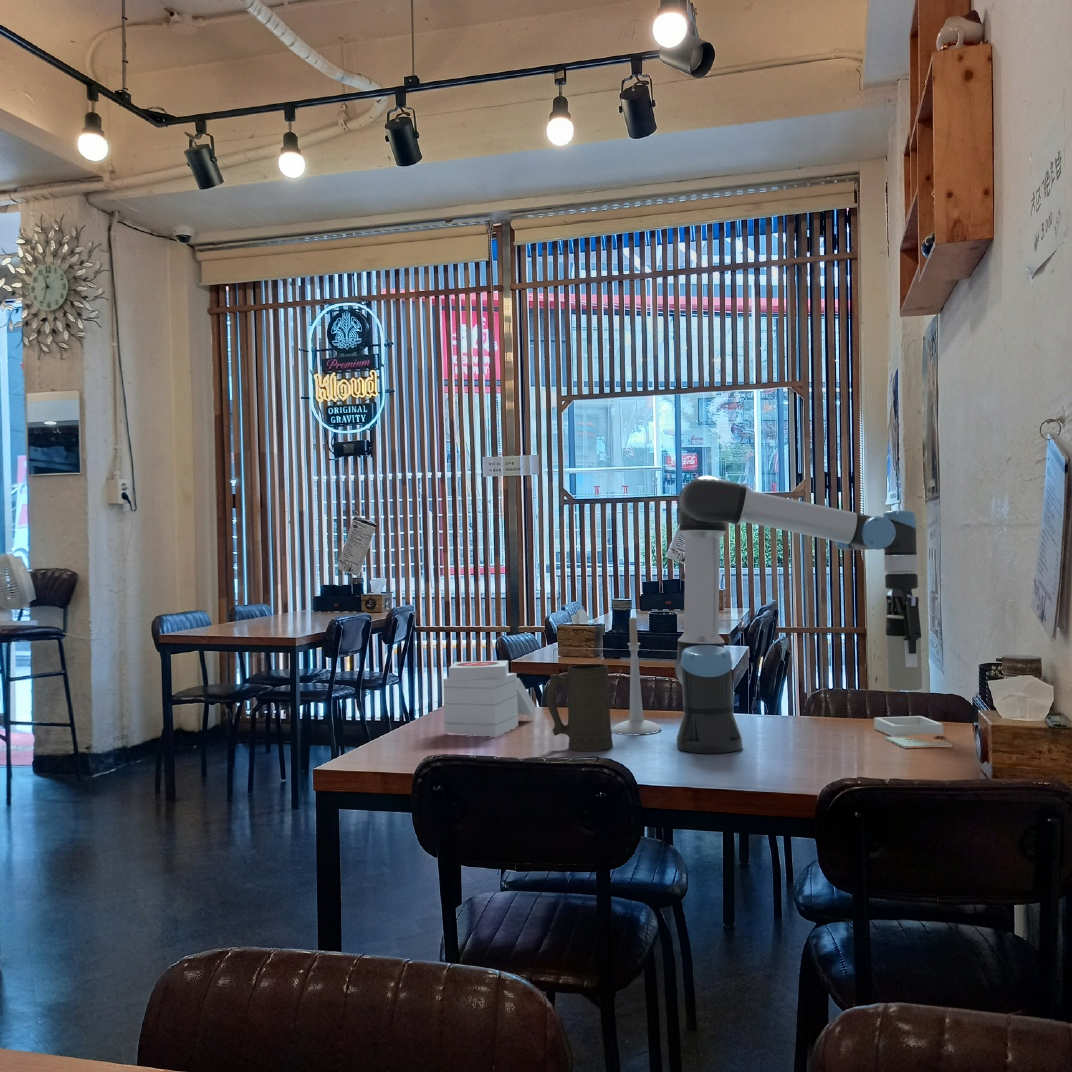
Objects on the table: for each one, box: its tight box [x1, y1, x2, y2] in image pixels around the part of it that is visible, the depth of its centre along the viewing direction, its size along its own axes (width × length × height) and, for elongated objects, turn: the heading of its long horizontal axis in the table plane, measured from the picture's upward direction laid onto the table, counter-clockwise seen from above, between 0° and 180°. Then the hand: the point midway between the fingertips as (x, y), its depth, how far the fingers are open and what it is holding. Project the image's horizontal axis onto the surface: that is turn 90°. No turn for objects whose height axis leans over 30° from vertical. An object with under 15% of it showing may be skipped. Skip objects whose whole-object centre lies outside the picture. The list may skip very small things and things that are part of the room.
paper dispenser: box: [442, 659, 536, 738], centre depth 254 cm, size 19×30×18 cm, turn 158°
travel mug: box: [885, 614, 923, 691], centre depth 228 cm, size 8×8×18 cm
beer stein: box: [546, 663, 614, 752], centre depth 222 cm, size 15×11×20 cm
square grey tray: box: [873, 715, 944, 736], centre depth 227 cm, size 12×12×3 cm
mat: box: [884, 736, 953, 747], centre depth 215 cm, size 11×11×1 cm
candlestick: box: [611, 617, 662, 735], centre depth 243 cm, size 13×13×30 cm
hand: (904, 665), depth 228 cm, fingers closed on travel mug, 8 cm apart
